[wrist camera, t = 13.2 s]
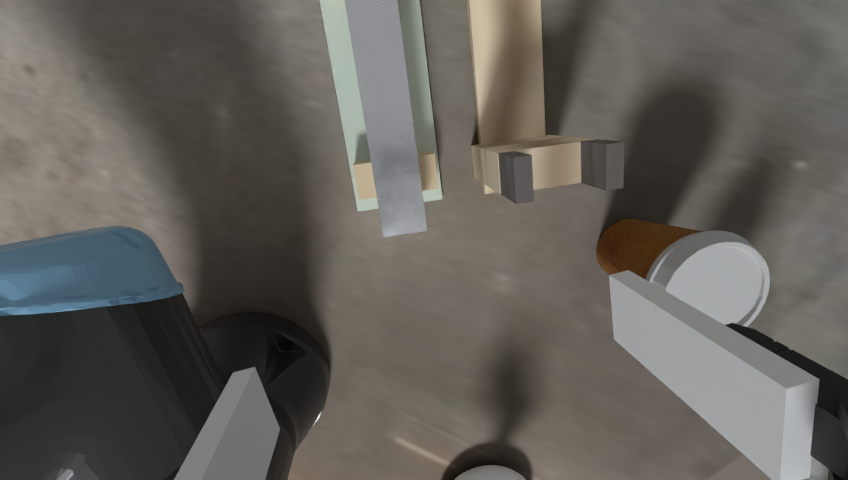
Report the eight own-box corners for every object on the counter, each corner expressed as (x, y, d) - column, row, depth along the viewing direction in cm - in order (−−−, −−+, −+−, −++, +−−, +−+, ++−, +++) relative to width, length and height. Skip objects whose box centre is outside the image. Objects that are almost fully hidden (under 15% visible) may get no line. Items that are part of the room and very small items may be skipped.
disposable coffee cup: (566, 234, 41) (637, 279, 29) (650, 184, 40) (756, 210, 29) (602, 305, 44) (680, 371, 32) (681, 260, 43) (789, 311, 31)
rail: (383, 224, 36) (383, 237, 32) (330, -101, 28) (322, -135, 25) (422, 218, 36) (427, 230, 32) (379, -106, 29) (378, -141, 25)
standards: (475, 193, 39) (516, 225, 27) (451, -78, 32) (491, -195, 20) (550, 182, 39) (623, 209, 27) (541, -88, 32) (633, -207, 21)
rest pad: (358, 210, 38) (356, 217, 35) (309, -63, 31) (301, -81, 29) (441, 197, 38) (446, 204, 36) (410, -74, 32) (413, -92, 29)
